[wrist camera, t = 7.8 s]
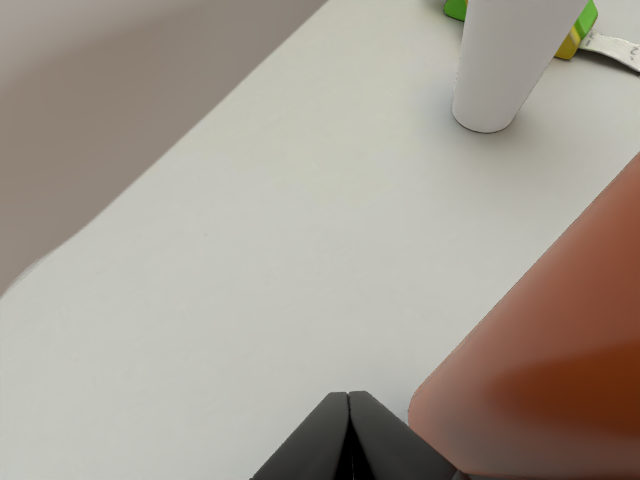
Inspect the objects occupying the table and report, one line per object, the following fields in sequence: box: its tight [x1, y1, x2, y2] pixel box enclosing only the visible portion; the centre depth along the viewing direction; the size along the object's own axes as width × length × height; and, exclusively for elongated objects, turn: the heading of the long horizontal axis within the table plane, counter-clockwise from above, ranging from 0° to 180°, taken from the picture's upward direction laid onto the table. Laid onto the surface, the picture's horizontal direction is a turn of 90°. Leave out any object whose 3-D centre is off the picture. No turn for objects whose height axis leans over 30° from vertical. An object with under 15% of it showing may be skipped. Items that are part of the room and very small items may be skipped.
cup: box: [452, 0, 589, 132], centre depth 18 cm, size 5×5×12 cm
